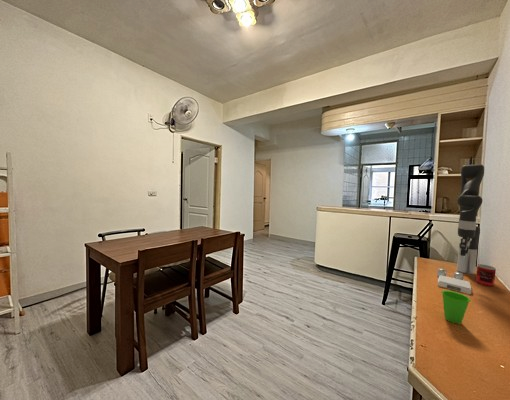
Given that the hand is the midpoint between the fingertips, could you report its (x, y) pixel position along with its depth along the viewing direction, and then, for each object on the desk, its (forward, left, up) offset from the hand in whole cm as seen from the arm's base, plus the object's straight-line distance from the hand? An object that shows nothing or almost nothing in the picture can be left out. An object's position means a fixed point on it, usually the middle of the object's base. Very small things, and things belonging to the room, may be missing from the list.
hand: (464, 254), depth 133 cm
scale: (+11, -3, -18) cm, 21 cm away
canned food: (-10, +11, -18) cm, 23 cm away
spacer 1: (-2, -9, -18) cm, 20 cm away
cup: (+60, -3, -18) cm, 63 cm away
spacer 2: (-2, -1, -18) cm, 18 cm away
